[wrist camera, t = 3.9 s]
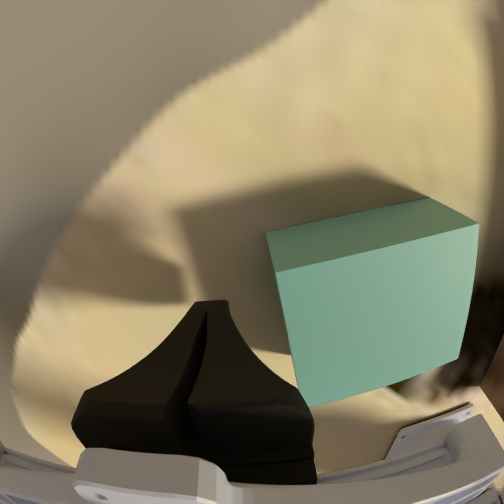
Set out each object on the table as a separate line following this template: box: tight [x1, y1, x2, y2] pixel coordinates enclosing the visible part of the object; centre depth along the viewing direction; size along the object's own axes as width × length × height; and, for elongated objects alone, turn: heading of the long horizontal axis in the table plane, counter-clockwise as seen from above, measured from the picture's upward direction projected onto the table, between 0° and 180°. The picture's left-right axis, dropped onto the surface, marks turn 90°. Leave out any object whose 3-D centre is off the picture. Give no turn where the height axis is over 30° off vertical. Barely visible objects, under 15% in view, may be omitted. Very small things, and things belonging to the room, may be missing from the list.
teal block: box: [265, 198, 479, 407], centre depth 13 cm, size 7×8×4 cm
